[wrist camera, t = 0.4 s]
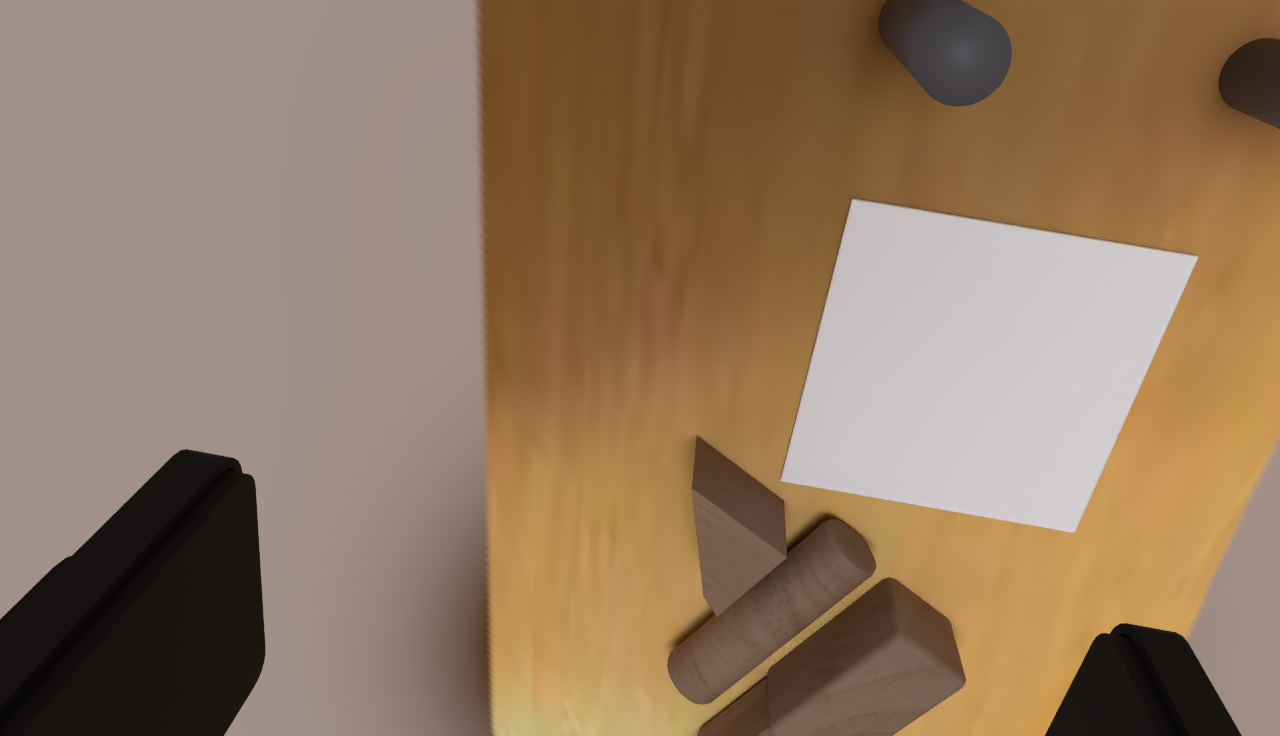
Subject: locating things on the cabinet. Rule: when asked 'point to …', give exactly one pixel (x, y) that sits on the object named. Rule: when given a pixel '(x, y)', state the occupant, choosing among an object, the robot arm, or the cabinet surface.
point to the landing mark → (977, 363)
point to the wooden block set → (803, 623)
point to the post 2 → (1254, 80)
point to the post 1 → (947, 47)
